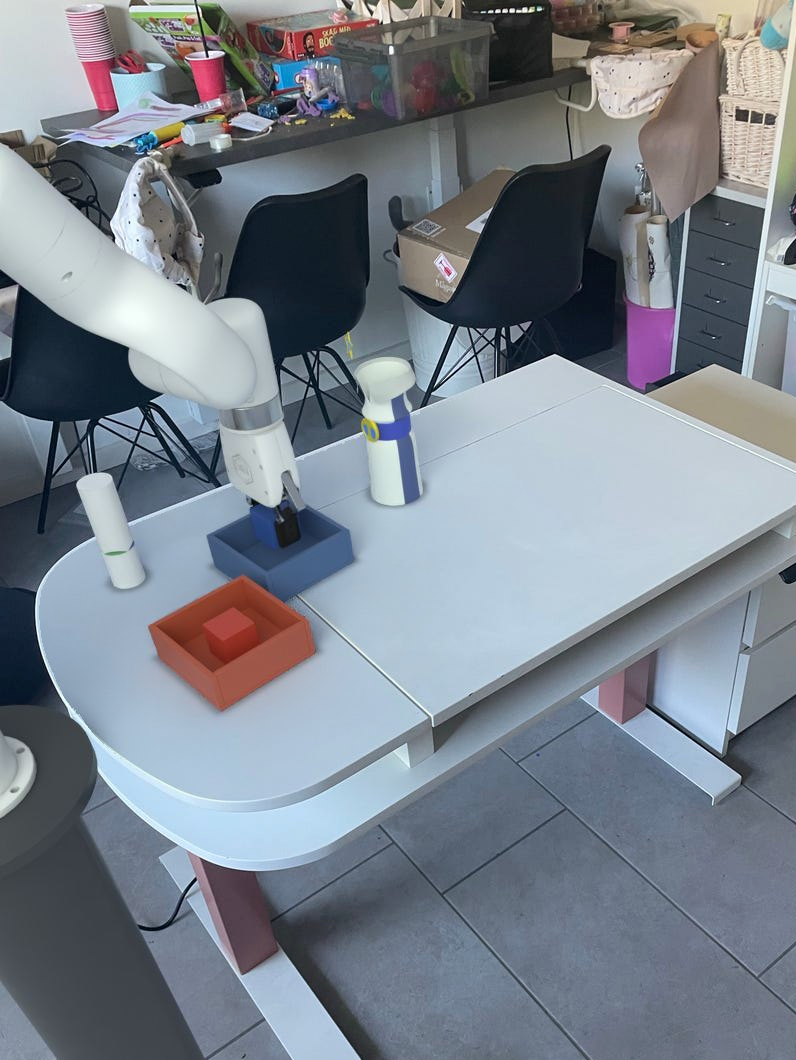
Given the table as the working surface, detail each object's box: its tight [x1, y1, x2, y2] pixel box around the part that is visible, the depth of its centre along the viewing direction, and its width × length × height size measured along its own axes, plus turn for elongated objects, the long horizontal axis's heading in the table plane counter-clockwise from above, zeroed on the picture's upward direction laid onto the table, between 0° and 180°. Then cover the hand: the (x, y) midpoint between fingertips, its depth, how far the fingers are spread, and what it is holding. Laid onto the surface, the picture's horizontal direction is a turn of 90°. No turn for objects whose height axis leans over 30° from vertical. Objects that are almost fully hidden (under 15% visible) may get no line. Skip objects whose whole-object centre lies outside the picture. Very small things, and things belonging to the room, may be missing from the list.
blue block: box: [248, 501, 302, 550], centre depth 122 cm, size 4×4×4 cm
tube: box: [75, 472, 147, 590], centre depth 120 cm, size 4×4×15 cm
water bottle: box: [344, 331, 424, 507], centre depth 130 cm, size 8×9×25 cm
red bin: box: [147, 575, 317, 712], centre depth 111 cm, size 13×13×5 cm
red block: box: [202, 607, 260, 665], centre depth 110 cm, size 4×4×4 cm
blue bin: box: [205, 503, 355, 603], centre depth 125 cm, size 13×13×5 cm
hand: (278, 534), depth 123 cm, fingers closed on blue block, 4 cm apart
